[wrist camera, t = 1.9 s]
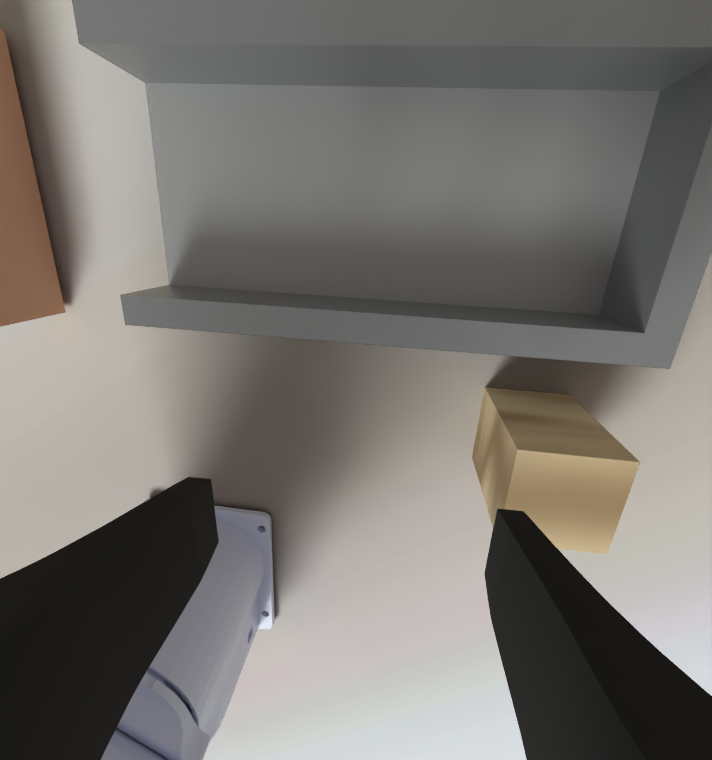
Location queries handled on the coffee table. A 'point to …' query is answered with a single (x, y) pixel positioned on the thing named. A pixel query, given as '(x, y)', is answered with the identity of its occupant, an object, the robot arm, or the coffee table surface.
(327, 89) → the tray
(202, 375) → the coffee table surface
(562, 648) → the robot arm
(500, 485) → the block
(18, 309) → the end cap
